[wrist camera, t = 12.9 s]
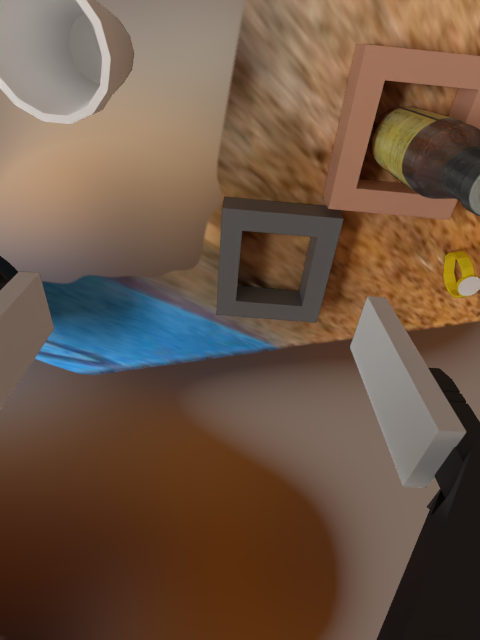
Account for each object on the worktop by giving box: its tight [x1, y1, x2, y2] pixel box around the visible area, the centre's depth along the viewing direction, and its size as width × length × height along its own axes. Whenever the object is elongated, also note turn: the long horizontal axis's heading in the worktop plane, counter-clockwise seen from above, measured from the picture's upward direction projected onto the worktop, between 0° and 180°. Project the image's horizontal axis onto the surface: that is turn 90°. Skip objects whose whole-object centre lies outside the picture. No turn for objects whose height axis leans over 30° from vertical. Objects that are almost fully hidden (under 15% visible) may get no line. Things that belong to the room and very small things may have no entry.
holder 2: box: [323, 44, 480, 220], centre depth 39 cm, size 14×15×4 cm
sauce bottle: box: [370, 106, 480, 216], centre depth 33 cm, size 7×6×20 cm
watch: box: [443, 251, 480, 298], centre depth 48 cm, size 6×3×6 cm, turn 13°
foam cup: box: [0, 0, 134, 124], centre depth 32 cm, size 10×9×13 cm
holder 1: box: [216, 197, 343, 323], centre depth 48 cm, size 14×15×4 cm
